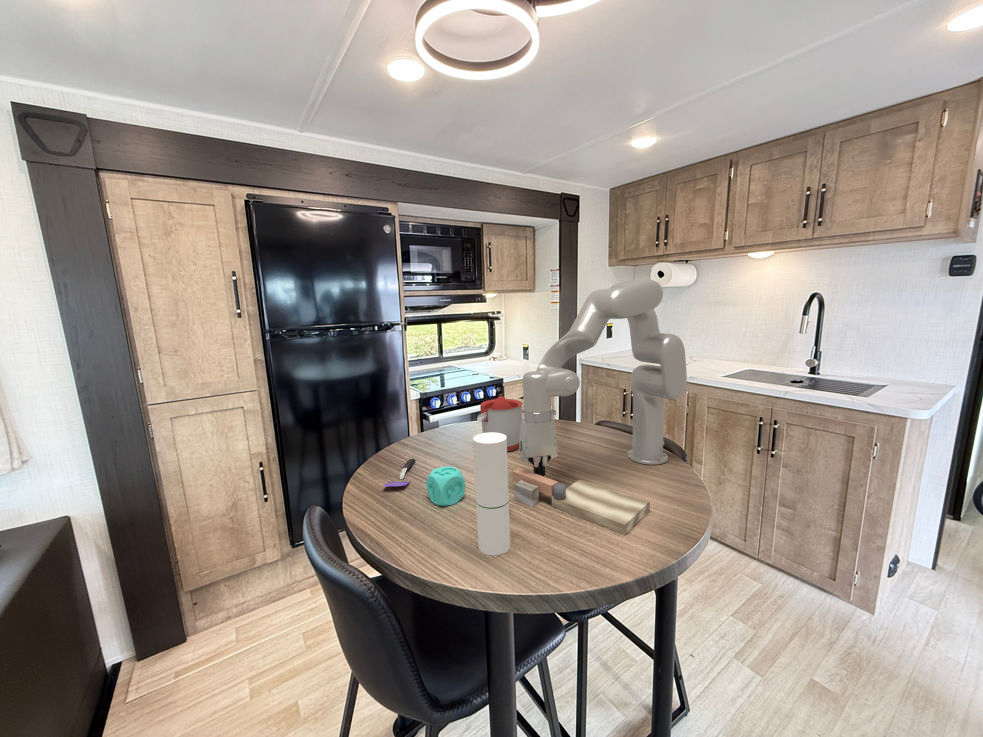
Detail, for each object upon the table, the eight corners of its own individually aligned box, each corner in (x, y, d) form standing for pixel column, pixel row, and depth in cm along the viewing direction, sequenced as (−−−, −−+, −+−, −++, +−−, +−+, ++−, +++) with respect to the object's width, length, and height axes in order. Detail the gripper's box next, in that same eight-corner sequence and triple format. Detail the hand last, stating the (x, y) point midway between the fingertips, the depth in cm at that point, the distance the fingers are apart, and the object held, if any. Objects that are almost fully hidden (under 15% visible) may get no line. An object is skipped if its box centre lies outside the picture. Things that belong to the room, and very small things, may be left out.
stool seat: (551, 478, 119) (551, 464, 118) (649, 510, 98) (649, 493, 98) (514, 499, 107) (514, 484, 106) (618, 541, 86) (618, 522, 85)
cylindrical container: (509, 535, 90) (505, 431, 86) (511, 554, 83) (507, 442, 79) (478, 537, 90) (473, 433, 86) (478, 556, 83) (472, 444, 79)
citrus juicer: (471, 445, 150) (469, 394, 147) (511, 437, 157) (509, 389, 154) (488, 459, 136) (486, 403, 133) (531, 449, 143) (530, 396, 140)
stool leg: (568, 496, 102) (568, 485, 101) (561, 500, 100) (560, 489, 99) (519, 477, 114) (519, 467, 114) (512, 481, 112) (512, 471, 111)
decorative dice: (426, 499, 109) (424, 472, 108) (450, 489, 114) (448, 463, 113) (442, 509, 103) (440, 481, 102) (466, 499, 108) (465, 471, 107)
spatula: (404, 461, 138) (403, 455, 138) (423, 461, 138) (422, 454, 137) (382, 493, 114) (381, 486, 114) (405, 493, 114) (404, 485, 113)
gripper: (558, 409, 113) (559, 469, 116) (508, 415, 110) (511, 476, 113) (568, 416, 106) (569, 480, 109) (515, 422, 103) (517, 487, 106)
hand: (539, 478), depth 111 cm, fingers closed
